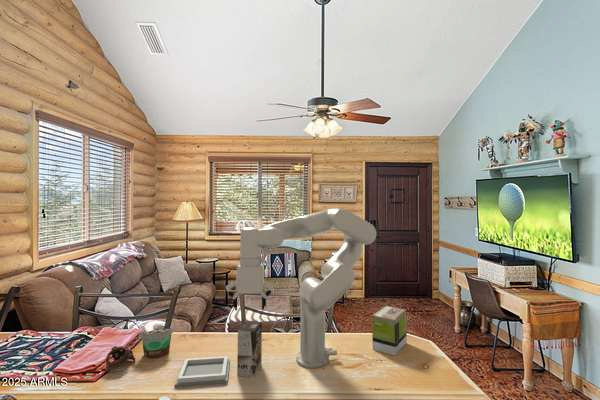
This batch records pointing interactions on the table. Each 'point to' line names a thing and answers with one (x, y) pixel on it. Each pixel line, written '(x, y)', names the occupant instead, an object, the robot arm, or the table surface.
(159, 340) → the food container
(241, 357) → the coffee box
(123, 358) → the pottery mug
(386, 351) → the tea box
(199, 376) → the board
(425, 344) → the table surface
